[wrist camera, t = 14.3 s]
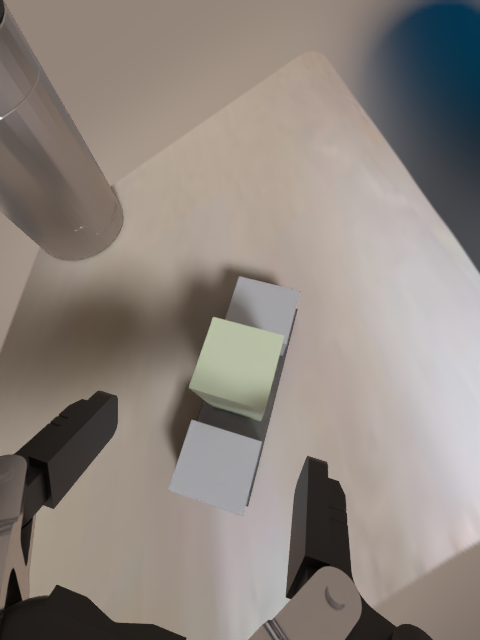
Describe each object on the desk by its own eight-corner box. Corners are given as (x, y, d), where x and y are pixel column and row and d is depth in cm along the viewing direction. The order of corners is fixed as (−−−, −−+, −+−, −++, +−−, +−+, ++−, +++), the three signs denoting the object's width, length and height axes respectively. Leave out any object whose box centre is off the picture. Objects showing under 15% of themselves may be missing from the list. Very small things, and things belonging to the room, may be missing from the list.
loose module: (212, 406, 25) (188, 387, 16) (227, 359, 27) (213, 316, 17) (260, 421, 25) (265, 410, 15) (273, 372, 26) (284, 335, 17)
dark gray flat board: (179, 480, 24) (176, 481, 24) (238, 298, 30) (238, 294, 29) (248, 504, 24) (247, 506, 23) (296, 313, 29) (297, 309, 28)
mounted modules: (180, 483, 24) (168, 490, 20) (240, 294, 29) (239, 276, 25) (244, 505, 23) (243, 516, 20) (294, 308, 28) (300, 291, 25)
